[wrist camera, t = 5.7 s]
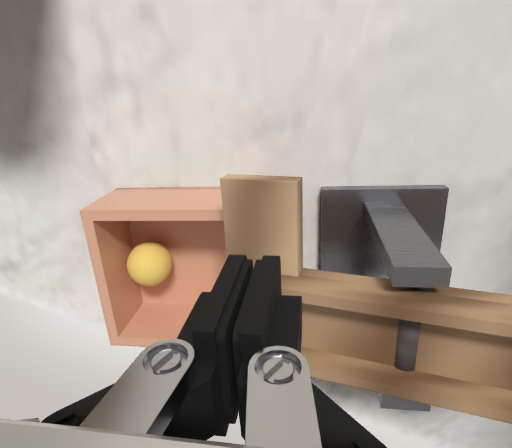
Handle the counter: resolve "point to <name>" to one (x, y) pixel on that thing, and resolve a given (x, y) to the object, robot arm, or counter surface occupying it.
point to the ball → (149, 264)
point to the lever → (377, 314)
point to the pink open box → (167, 234)
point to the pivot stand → (386, 241)
